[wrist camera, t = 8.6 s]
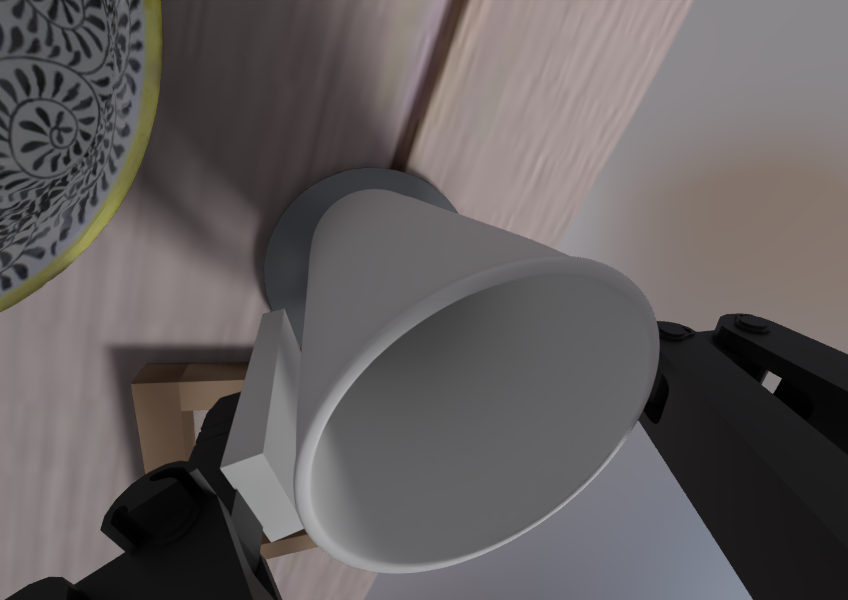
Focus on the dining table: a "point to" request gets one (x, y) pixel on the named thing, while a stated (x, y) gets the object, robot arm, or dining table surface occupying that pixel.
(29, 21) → the bowl
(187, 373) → the holder
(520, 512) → the mug
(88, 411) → the dining table surface
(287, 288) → the coaster
